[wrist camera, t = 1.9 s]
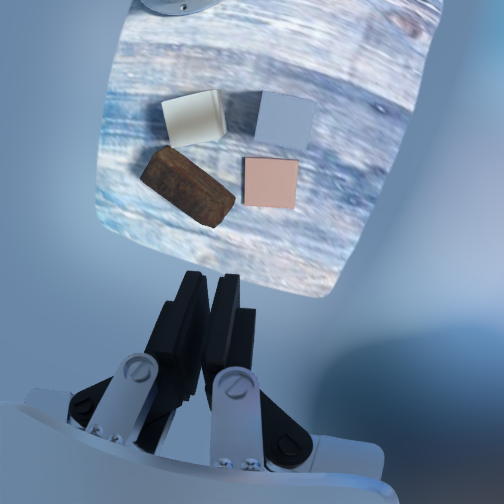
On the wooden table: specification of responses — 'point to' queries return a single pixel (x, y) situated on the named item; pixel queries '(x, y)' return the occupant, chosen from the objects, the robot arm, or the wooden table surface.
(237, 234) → the wooden table surface
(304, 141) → the slate block
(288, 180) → the tile
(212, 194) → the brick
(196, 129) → the pale grey cube
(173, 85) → the wooden table surface
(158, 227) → the wooden table surface
